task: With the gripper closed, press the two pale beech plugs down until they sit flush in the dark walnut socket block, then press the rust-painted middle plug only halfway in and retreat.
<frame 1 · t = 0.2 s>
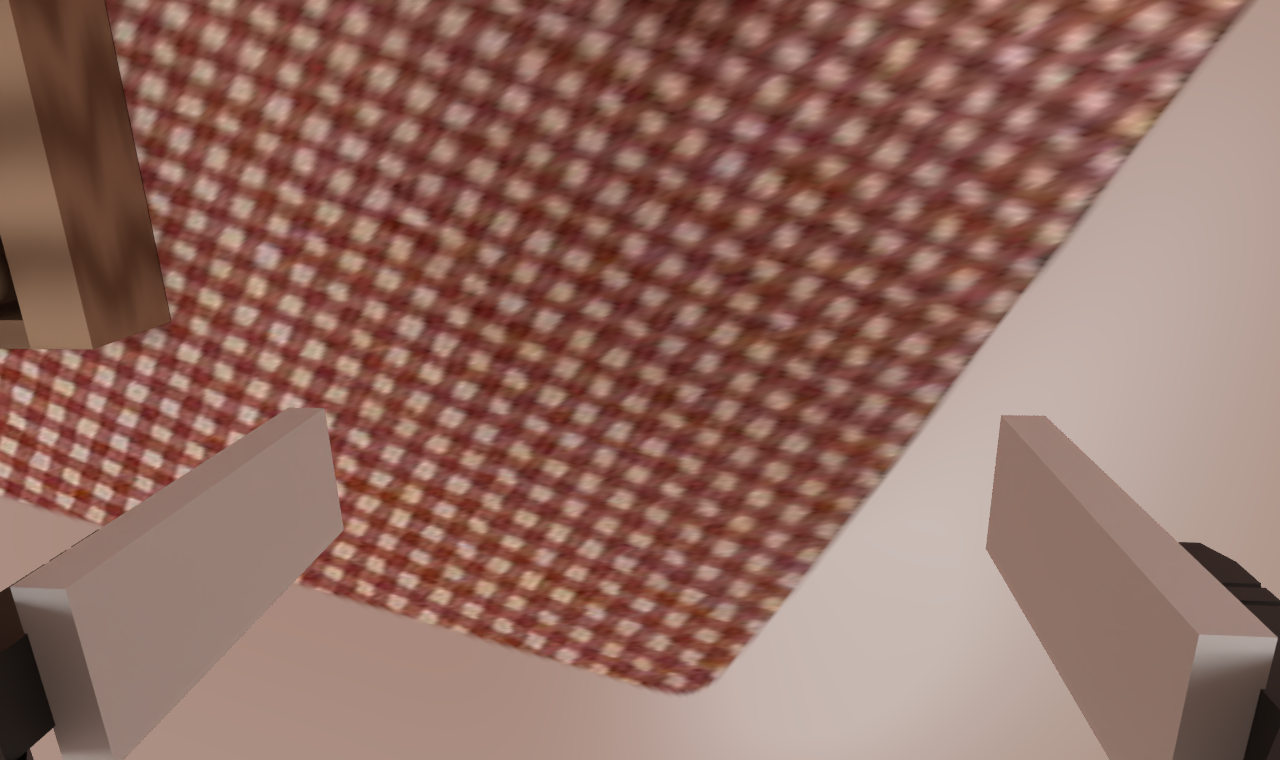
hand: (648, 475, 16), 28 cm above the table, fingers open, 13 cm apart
walnut socket block: (28, 125, 44), on the table
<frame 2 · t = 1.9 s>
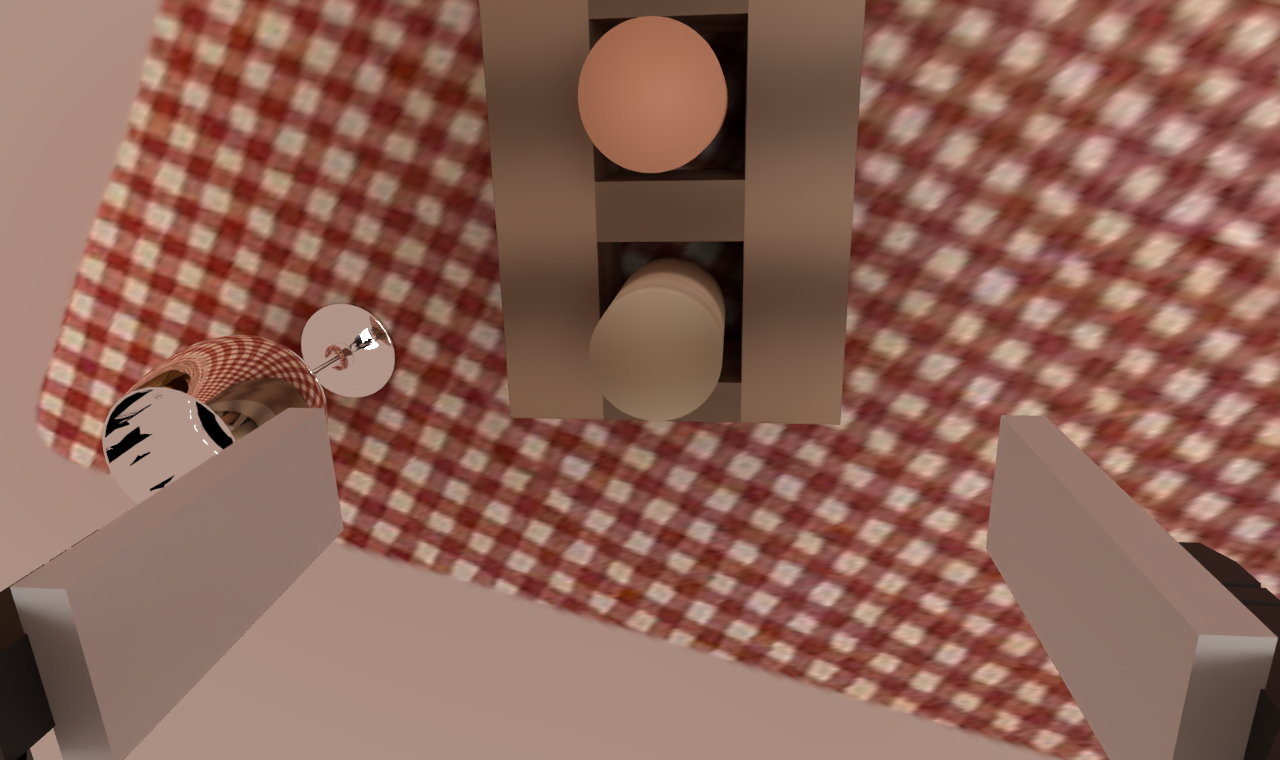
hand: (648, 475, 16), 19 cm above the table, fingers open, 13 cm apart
walnut socket block: (680, 103, 31), on the table
rust plug: (661, 99, 23), point 9 cm above the table, slide at 0.0 cm
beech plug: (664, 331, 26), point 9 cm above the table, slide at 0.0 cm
wineglass: (350, 349, 37), on the table
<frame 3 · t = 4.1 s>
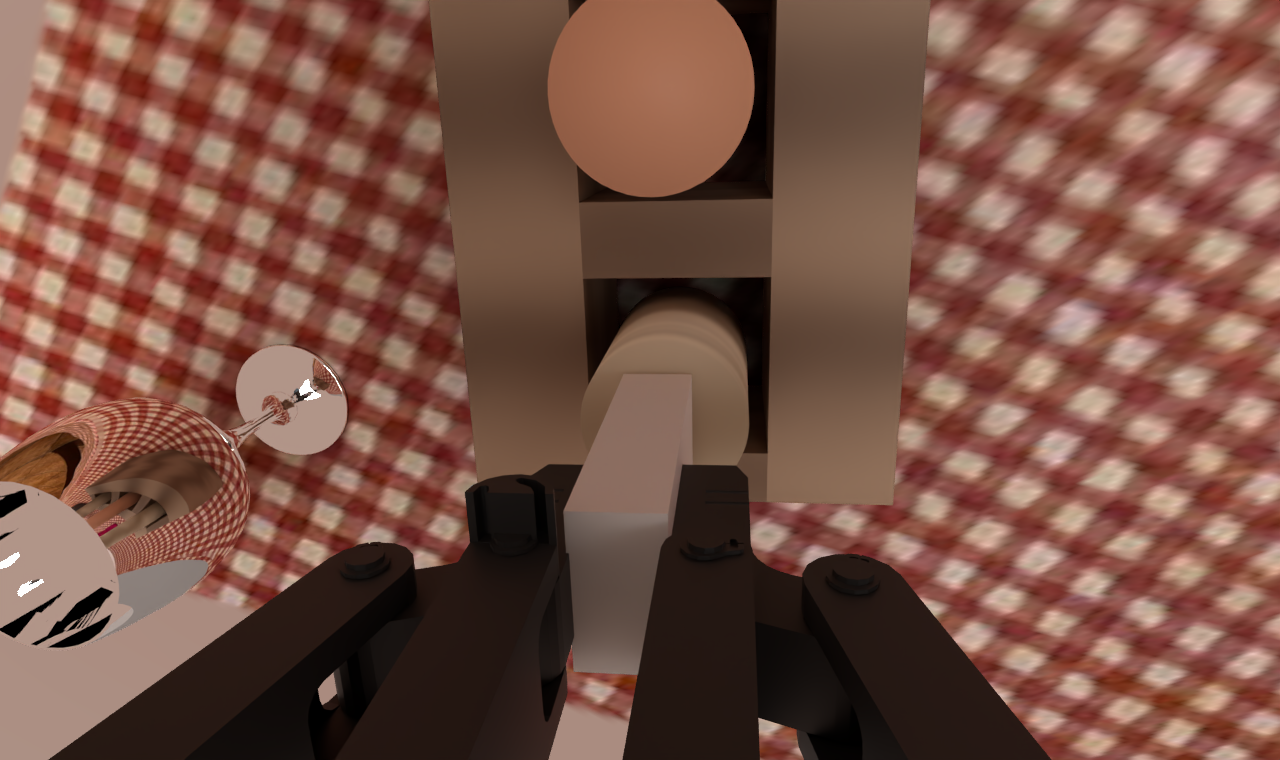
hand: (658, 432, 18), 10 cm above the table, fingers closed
walnut socket block: (687, 101, 25), on the table
rust plug: (663, 95, 17), point 8 cm above the table, slide at 0.0 cm
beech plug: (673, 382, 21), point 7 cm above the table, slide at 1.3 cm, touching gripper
wineglass: (295, 399, 31), on the table
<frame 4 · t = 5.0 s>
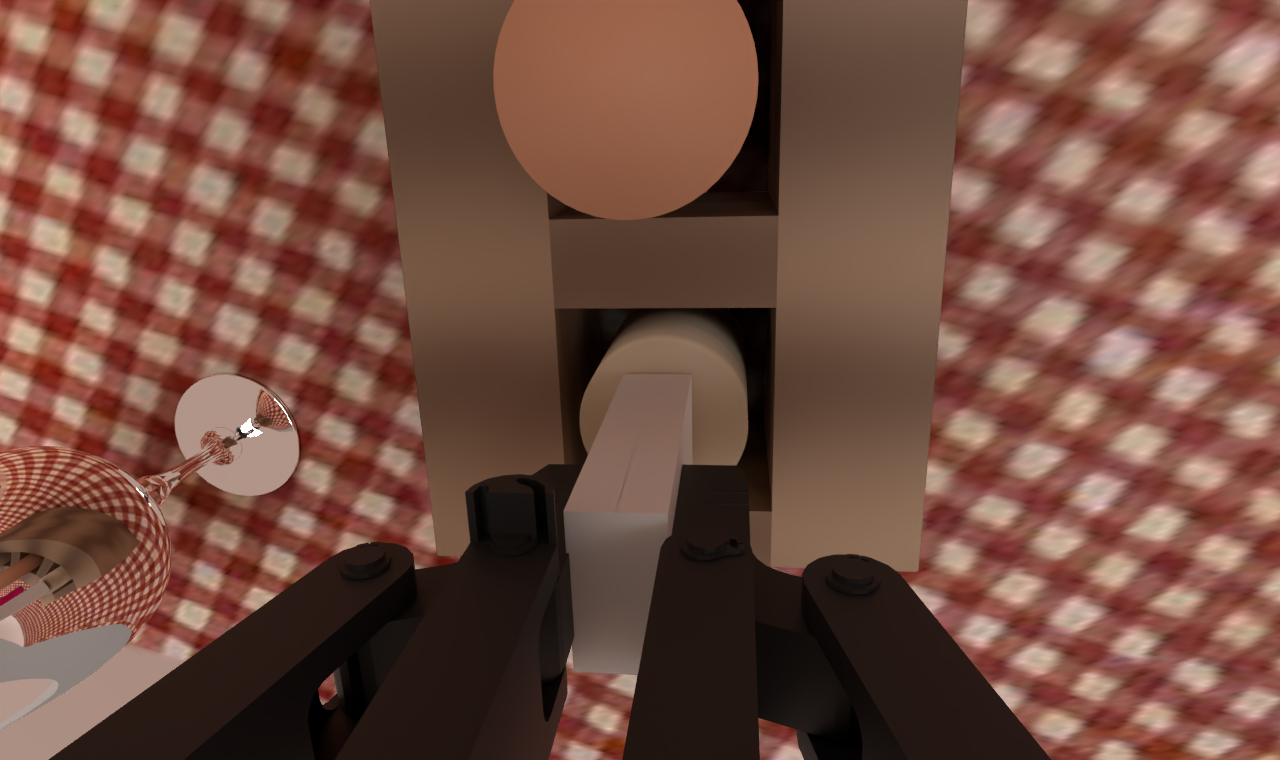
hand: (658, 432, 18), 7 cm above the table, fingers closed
walnut socket block: (678, 101, 22), on the table
rust plug: (646, 91, 14), point 9 cm above the table, slide at 0.0 cm
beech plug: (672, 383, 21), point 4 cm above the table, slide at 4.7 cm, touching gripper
wineglass: (241, 433, 27), on the table
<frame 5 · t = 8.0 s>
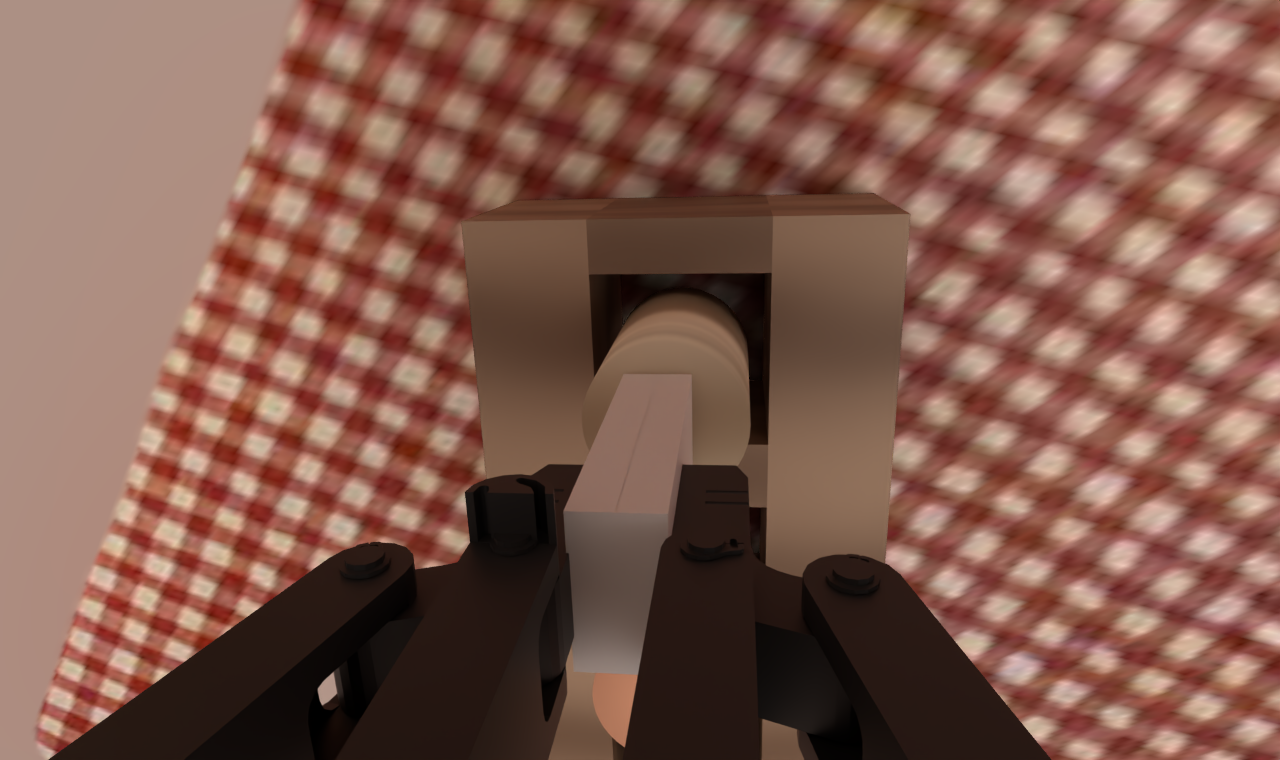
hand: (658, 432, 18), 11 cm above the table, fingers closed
walnut socket block: (694, 492, 30), on the table
rust plug: (677, 626, 22), point 9 cm above the table, slide at 0.0 cm
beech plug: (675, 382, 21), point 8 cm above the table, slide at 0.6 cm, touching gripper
wineglass: (355, 691, 36), on the table
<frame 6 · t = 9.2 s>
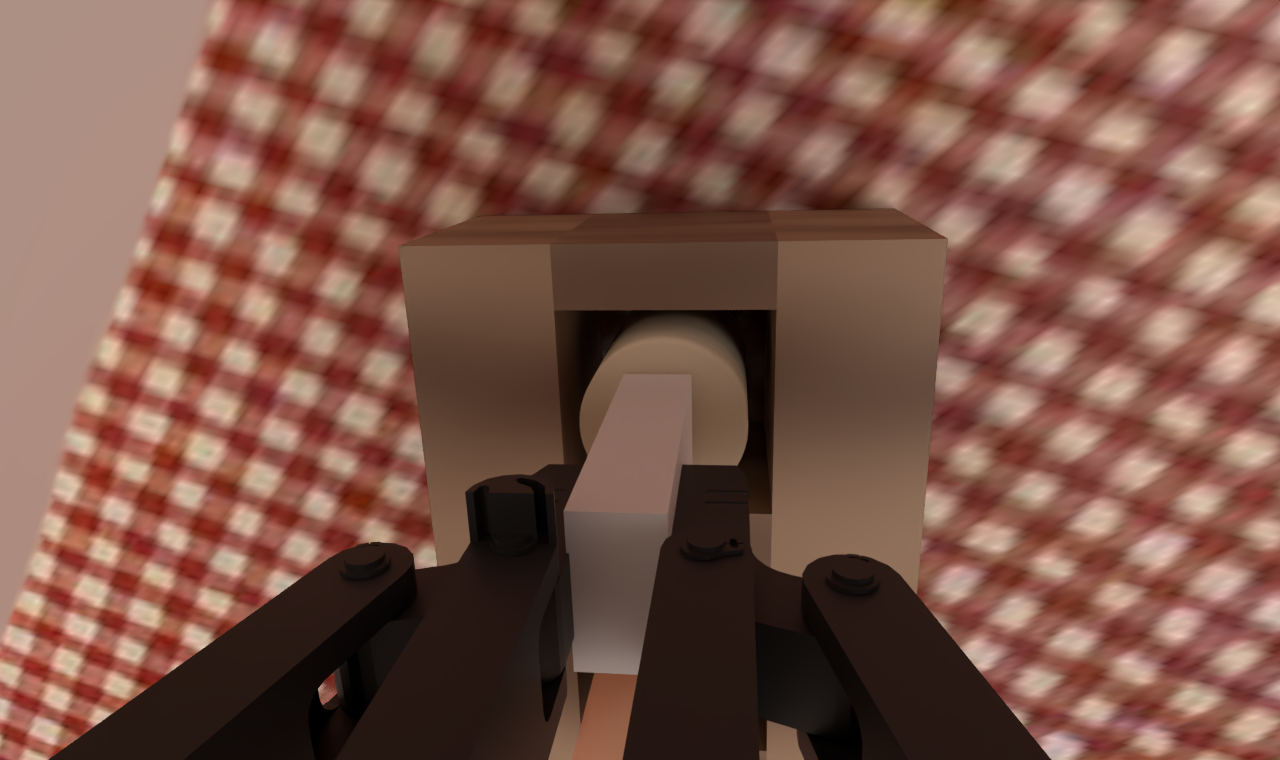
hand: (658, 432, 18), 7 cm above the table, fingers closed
walnut socket block: (685, 550, 26), on the table
rust plug: (662, 737, 18), point 9 cm above the table, slide at 0.0 cm
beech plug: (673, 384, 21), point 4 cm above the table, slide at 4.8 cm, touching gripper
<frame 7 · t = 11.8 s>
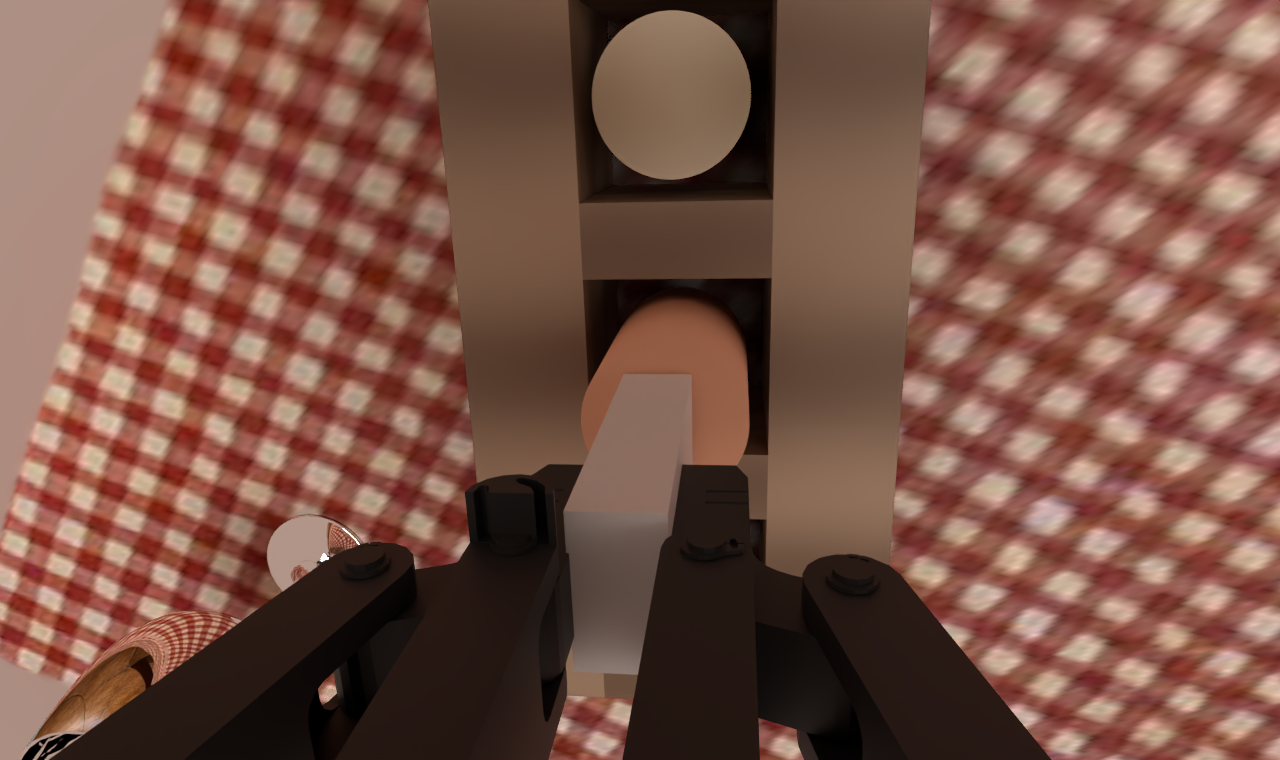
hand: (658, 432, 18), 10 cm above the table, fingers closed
walnut socket block: (689, 317, 28), on the table
rust plug: (674, 382, 21), point 7 cm above the table, slide at 1.4 cm, touching gripper
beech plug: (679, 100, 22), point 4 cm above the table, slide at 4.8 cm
wineglass: (322, 561, 33), on the table
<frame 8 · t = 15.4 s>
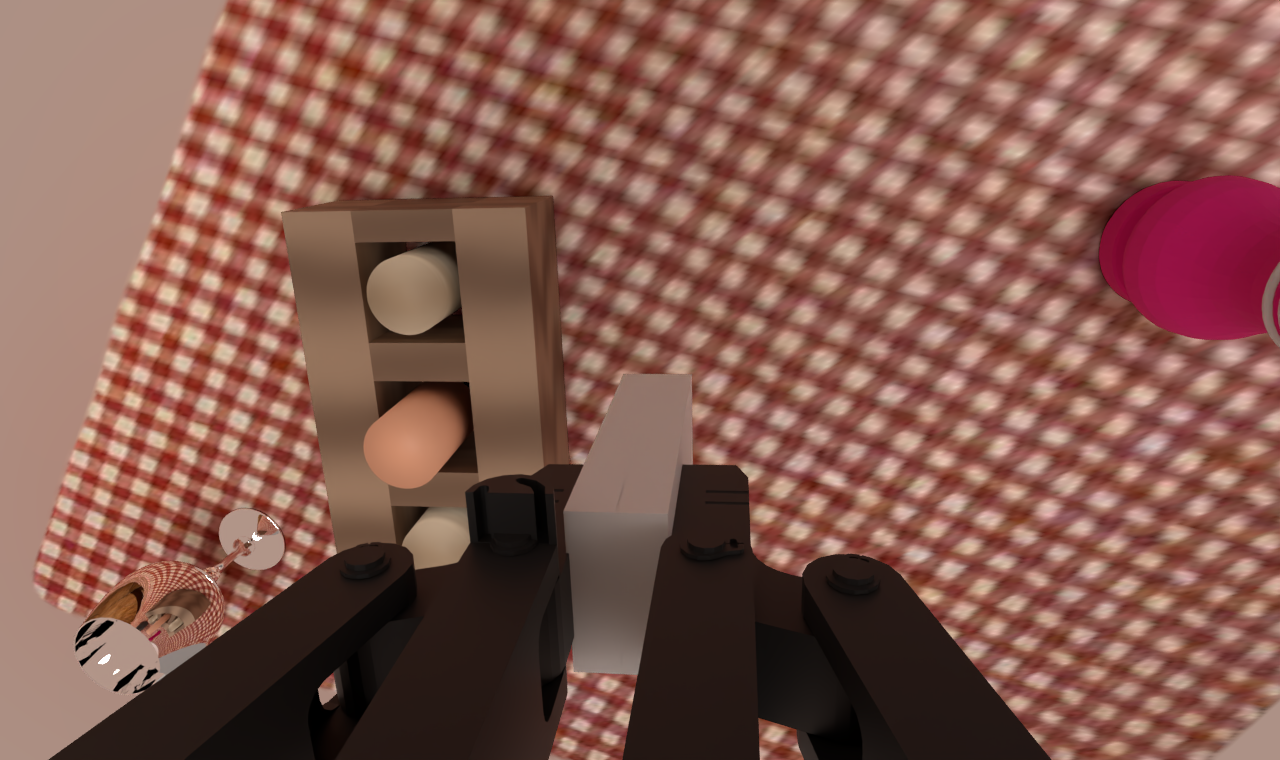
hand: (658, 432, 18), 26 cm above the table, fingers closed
pepper mill: (1162, 243, 40), on the table
walnut socket block: (464, 390, 47), on the table
rust plug: (424, 429, 41), point 6 cm above the table, slide at 2.3 cm
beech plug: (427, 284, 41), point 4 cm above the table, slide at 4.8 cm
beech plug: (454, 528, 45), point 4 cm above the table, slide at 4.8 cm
wineglass: (254, 537, 52), on the table
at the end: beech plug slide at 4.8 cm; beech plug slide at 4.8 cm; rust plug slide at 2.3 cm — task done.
